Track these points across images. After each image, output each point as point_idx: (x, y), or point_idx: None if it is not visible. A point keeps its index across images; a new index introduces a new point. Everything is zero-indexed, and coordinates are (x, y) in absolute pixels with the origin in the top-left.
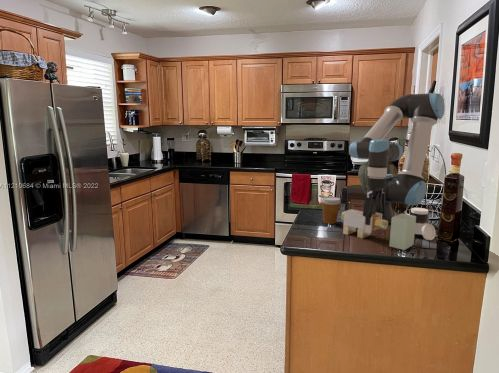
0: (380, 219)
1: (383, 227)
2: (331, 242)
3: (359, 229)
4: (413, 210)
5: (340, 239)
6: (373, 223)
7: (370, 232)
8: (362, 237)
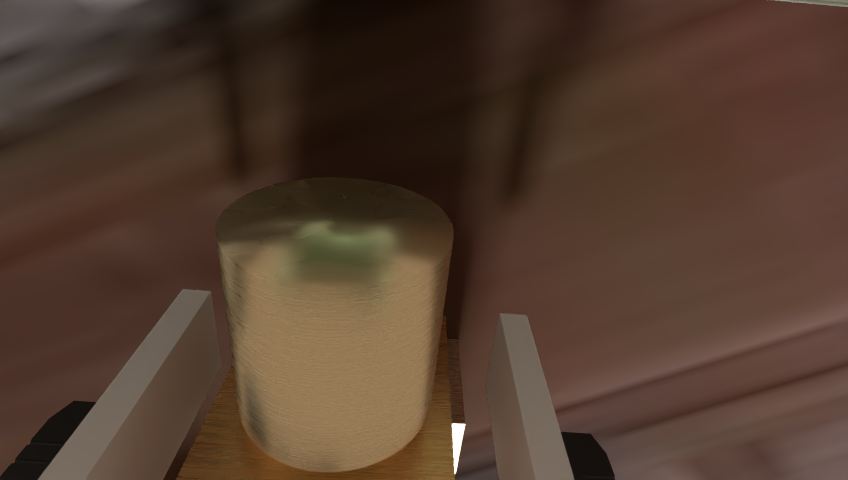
0: (337, 410)
1: (444, 222)
2: (741, 468)
3: (457, 448)
4: None
5: (615, 452)
6: (448, 417)
7: (525, 322)
8: (456, 347)
